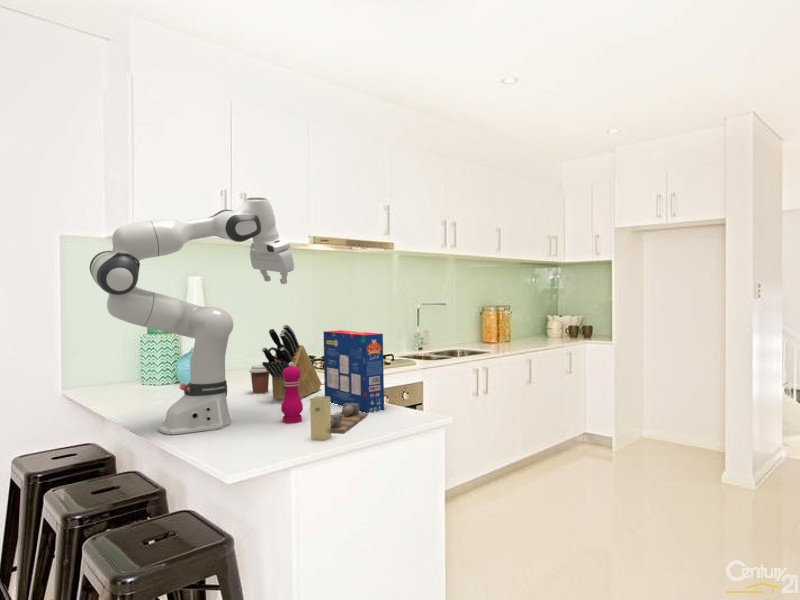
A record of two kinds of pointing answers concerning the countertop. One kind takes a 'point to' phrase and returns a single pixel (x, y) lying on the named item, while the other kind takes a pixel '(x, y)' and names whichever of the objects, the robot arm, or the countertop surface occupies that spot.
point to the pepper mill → (291, 395)
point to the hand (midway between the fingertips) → (275, 282)
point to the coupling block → (320, 418)
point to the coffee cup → (259, 379)
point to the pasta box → (354, 369)
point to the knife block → (281, 361)
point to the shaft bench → (346, 418)
